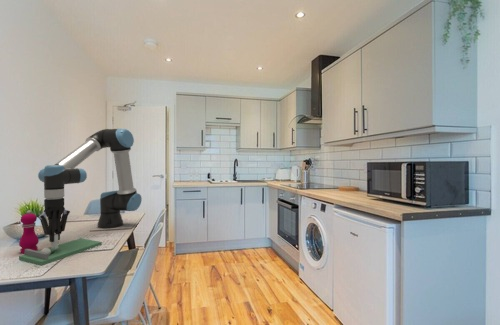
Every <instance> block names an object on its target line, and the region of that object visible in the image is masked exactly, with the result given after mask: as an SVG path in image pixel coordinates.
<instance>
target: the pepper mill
mask: <svg viewBox="0 0 500 325" xmlns="http://www.w3.org/2000/svg"><path fill="white" fill-rule="evenodd" d="M37 220H38V215H36V214H35V213H32V211H31V210H30V209H29V210H27V211H26V214H22V215H21V216H20V223H22V224H21V228H23V231H22V235H21V236H20V240H19V242H18V246H19V247H20V253H21V254H22V255H25V249H31V250H35V251H38V244H39V242H40V240H39V237H38V236H37V233H36V231H35V227H36V221H37Z"/></svg>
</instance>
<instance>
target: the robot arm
mask: <svg viewBox="0 0 500 325" xmlns="http://www.w3.org/2000/svg"><path fill="white" fill-rule="evenodd" d="M134 143H135V139H134V135H133V133H132V132H131V131H130V130H128V129H127V128H104V129H101V130H98V131H97V132H95V133H93V134H91V135H89V136H88V137H87V138H86V139H85V142H84V143H82V144H81V145H79V146H78V147H76V148H75V149H74V150H72V151H71V152H69V153H68V154H67V155H66V156H64V157H63V158H61V159H60V160H58V162H56V163H55V164H51V165H45V167H44V168H42V169H39V170H40V171H39V172H38V174H37V177H38V180H39V181H41V182H42V183H43V187H44V189H43V192H44V193H43V195H44V197H43V198H44V200H43V206H44V210H43V213H42V214H38V215H37V219H38V220H40V224H41V227H42V230H43V233H44V234H43V235H46V236H48V237H49V238H48V239H49V243H50V247H51V248H52V249H57V248H58V245H59V241H61V240H60V239H61V235H62V233H63V232H64V231H65V229H66V224H67V221H68V216H69V215H70V213H71V211H70V210H67V209H66V208H65V185H72V184H80V183H84V182H85V181H86V180H87V178H88V177H87V176H88V175H87V171H86V170H85V169H83V168H78V166H79V165H81V164H82V163H83V162H84V161H85V160H86V159H88V158H89V157H90V156H92V155H93V154H95V152H99V151H101V150H102V149H105V148H106V149H107V148H109V149H110V153H112V154H113V157H114V163H115V164H114V165H115V171H116V177H117V183H118V190H110V191H105V192H101V194H100V198H99V200H100V202H99V204H100V215H99V218H98V222H97V228H99V229H112V228H118V227H121V226H123V225H124V220H123V218H122V214H121V211H123V212H135V211H137V210H138V209H139V208H140V206H141V204H142V199H143V198H142V195H141V194H140V193H138V192H137V189H136V188H135V187H134V182H133V173H132V166H131V158H130V151H131V150H132V147H133V145H134Z"/></svg>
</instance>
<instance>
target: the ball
mask: <svg viewBox="0 0 500 325" xmlns="http://www.w3.org/2000/svg"><path fill="white" fill-rule="evenodd" d="M40 250H41V251H40V252H44V253H49V255H50V254H51V250H50V249H49V247H44V248H42V249H40Z"/></svg>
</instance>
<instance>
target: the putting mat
mask: <svg viewBox="0 0 500 325" xmlns="http://www.w3.org/2000/svg"><path fill="white" fill-rule="evenodd" d="M98 245H100V246H102V241H98V240H91V239H87V238H77V239H72V240H71V241H67V242H64V243H60V244H59V243H58V248H57V249H52V248H51V246H50V247H48V248H49V249H50V250H51V254H50V255H49V253H44V252H40V251H41V250H42V249H39V250H37V251H35V250H31V249H25V254H22V255H18V260H19V261H21V262H27V263H29V262H30V263H29V264H33V263H34V264H35V265H37V264H38V265H37V266H43V265H48V264H50V263H52V262H55V261H58V260H61V259H64V258H68V257H71V256H73V255H76V254H79V253H81V252H85V251H88V250H91V249H94V248H96V247H95V246H97V247H99V246H98ZM93 247H94V248H93ZM90 248H91V249H90ZM87 249H88V250H87Z"/></svg>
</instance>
